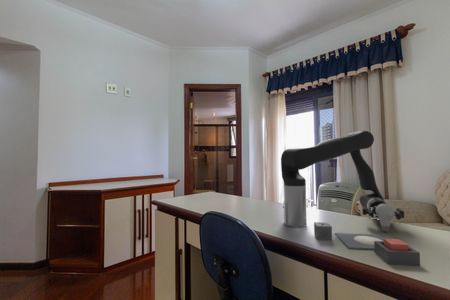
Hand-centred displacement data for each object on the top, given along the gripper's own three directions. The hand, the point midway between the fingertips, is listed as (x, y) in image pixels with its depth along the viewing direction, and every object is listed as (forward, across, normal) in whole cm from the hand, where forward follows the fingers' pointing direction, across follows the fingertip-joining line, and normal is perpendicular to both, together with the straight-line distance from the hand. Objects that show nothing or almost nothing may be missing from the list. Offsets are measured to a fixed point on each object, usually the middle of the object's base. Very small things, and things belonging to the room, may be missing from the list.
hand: (385, 216), depth 92 cm
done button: (+25, -2, +4) cm, 26 cm away
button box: (+25, -2, +6) cm, 26 cm away
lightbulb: (-1, 0, +7) cm, 7 cm away
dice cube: (+14, -22, +7) cm, 27 cm away
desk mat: (+13, -8, +6) cm, 16 cm away
